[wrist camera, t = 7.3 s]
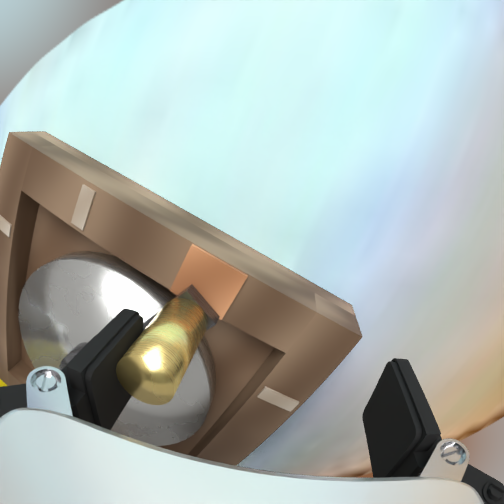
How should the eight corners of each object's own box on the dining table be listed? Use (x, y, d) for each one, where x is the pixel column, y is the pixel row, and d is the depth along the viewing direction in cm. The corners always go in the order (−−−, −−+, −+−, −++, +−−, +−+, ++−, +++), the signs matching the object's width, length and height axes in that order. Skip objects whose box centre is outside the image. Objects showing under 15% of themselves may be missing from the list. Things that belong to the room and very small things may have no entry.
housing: (351, 305, 16) (363, 338, 13) (199, 474, 23) (190, 502, 20) (44, 131, 15) (7, 132, 12) (11, 353, 22) (-10, 371, 19)
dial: (129, 445, 21) (95, 508, 14) (11, 317, 19) (-49, 363, 12) (301, 374, 16) (298, 483, 9) (130, 166, 14) (21, 184, 7)
